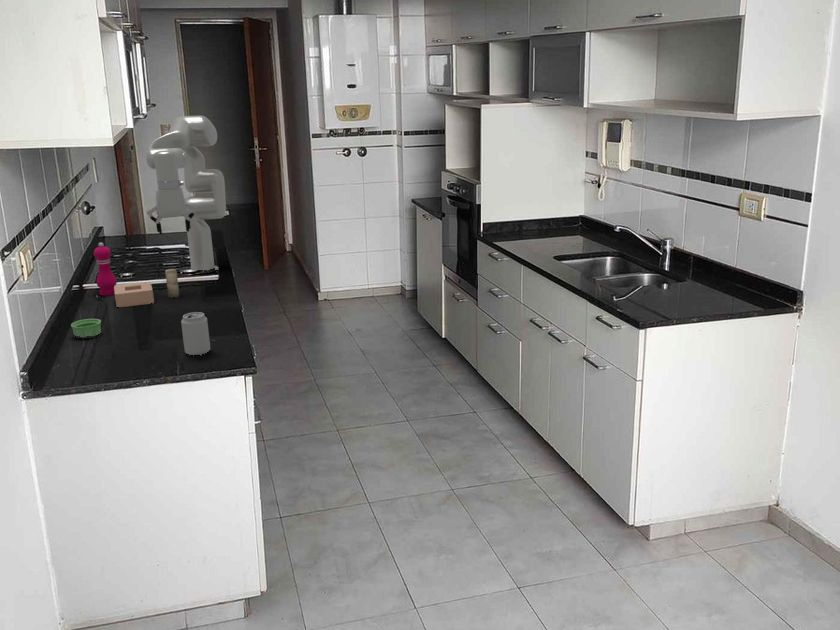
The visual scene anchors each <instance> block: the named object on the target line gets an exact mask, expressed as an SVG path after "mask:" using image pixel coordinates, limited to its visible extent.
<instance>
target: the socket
mask: <svg viewBox="0 0 840 630" xmlns="http://www.w3.org/2000/svg"><path fill="white" fill-rule="evenodd" d="M114 291H115V294H114V299H115V305H116V308H117V307H119V308H125V307H126V308H128V307H134V306H142V305H143V306H144V305H151V303H152V304H155V299H154V298H155V297H154V291H153V286H152V283H151V281H146V282H137V283H136V282H135V283H130V284H128V283H127V284H121V285H119V284H118V285H115V286H114Z"/></svg>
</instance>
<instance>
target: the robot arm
mask: <svg viewBox="0 0 840 630" xmlns="http://www.w3.org/2000/svg"><path fill="white" fill-rule="evenodd" d="M217 141H218V132H217V129H216V127H215V125H214V124H213V123H212V121H211V120H210V119H209V118H208V117H206V116H204V115H180V116H177V117H175V118H174V119H173V121H172V122H171V125H170V127H169V130H168V133H166V134H163V135H161V136H160V137H158V138H155V139H154V140H153V141H152V142H151V143H149V144H150V145H149V146H148V149H147V151H146V156H145V157H146V158H145V160H146V164H147V166H148V168H150V169H152V170H155V175H156V182H157V183H156V184H157V189H156V190H155V206H154V207H152V208H151V209H149V210H147V211H146V214H147V216H148V217H149V218H150V220H151V221H153V222H154V223H155V225H156V232H157V233H159V235H163V231H162V230H163V229H162V223H161V221H162V219H169V218H178V217H184V223H185V230H186V235H187V242H188V250H189V252H188V253H189V260H190V268H191V269H193V270H203V271H204V270H210V269H213V268H215V270H218V271H219V266H218V265H215V260H214V250H213V241H212V231H211V228H210V227H211V226H209V224H207V222H206V221H205V220H217V219H223V218H224V217H225V216H226V213H227V211H226V210H227V205H226V203H227V201H226V184H225V183H226V182H225V177H224V174H223V171H221V170H219V169H217V168H211V169H209V168H207V169H206V159H205V155H204V154H203V153H202V152H201V151H200V149H198V148H197V147H212V146H214V145H215V144H216V143H217ZM181 169H183V177H184V179H183V180H184V181H181V180H180V179H179V178H180V177H179V170H181ZM183 185H184V187H185V189H186V191H187V192H188V193H190V194H191V193H192V194H207V193H211V194H212V195H193V196H192V195H191V196H187V197H185V196H184V191H183V188H182V187H181V186H183ZM155 212H156V215H157V217H155V216H154V215H153V213H155Z"/></svg>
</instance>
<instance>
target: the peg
mask: <svg viewBox="0 0 840 630" xmlns="http://www.w3.org/2000/svg"><path fill="white" fill-rule="evenodd" d="M165 279H166V280H165V281H166V288H167V295H168V296H167V297H168V298H169V297H170V299H171V298H172V299H173V297H175V298H179V297H180V289H179V282H178V272H177V269H175V268H170V269H166V270H165Z"/></svg>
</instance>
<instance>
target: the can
mask: <svg viewBox="0 0 840 630" xmlns="http://www.w3.org/2000/svg"><path fill="white" fill-rule="evenodd" d="M180 323H181V331H182V333H181V334H182V340H183V346H184V353H185V354H187V355H188V354H189V355H188V356H190V355H193V356H192V357H195V356H194V355H200V356H203V355H202V354H204V355H206V354H208V353H209V351H211V342H210V333H209V325H208V324H209V323H208V318H207V317H206V316H205V313H204V312H199V311H198V312H197V311H193V312H188V313H186V314H183V316H182V319H181V321H180ZM207 352H208V353H207ZM205 353H206V354H205Z"/></svg>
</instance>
